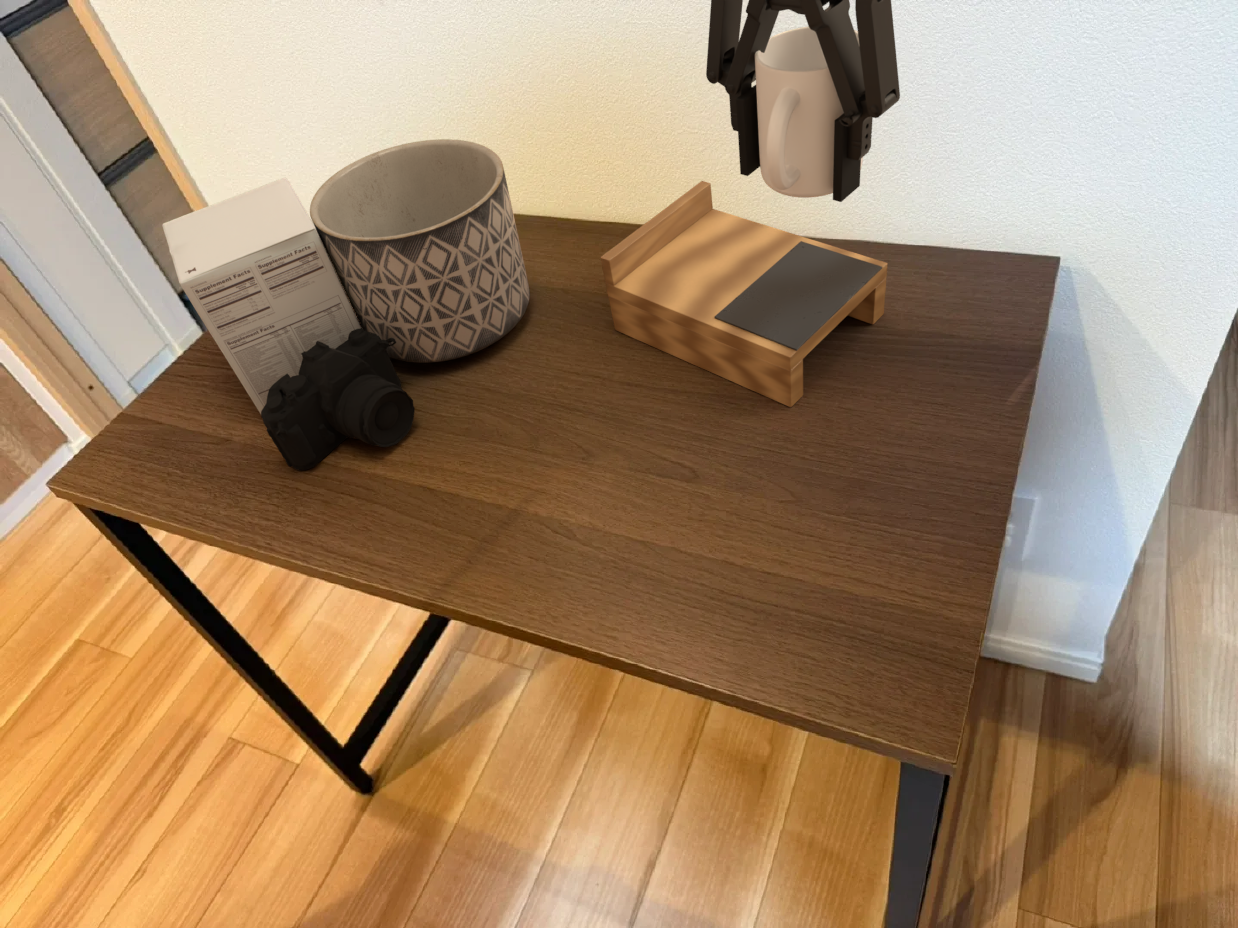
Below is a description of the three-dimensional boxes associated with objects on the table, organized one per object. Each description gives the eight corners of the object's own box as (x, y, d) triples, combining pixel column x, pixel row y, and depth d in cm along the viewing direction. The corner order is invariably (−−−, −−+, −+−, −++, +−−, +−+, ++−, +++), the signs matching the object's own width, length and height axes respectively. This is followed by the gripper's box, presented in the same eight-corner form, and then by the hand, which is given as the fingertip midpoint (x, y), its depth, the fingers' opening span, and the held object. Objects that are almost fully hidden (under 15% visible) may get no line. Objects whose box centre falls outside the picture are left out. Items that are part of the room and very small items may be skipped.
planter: (380, 400, 89) (319, 262, 77) (356, 302, 102) (301, 172, 90) (558, 342, 92) (525, 200, 80) (512, 254, 105) (478, 121, 93)
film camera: (340, 499, 80) (300, 430, 74) (277, 463, 85) (234, 395, 79) (452, 399, 88) (424, 328, 81) (388, 371, 93) (357, 302, 86)
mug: (823, 232, 66) (824, 99, 59) (724, 216, 70) (714, 90, 63) (876, 155, 73) (883, 27, 66) (784, 144, 77) (780, 22, 69)
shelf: (883, 314, 86) (890, 235, 80) (791, 408, 79) (789, 329, 73) (708, 253, 98) (701, 180, 92) (614, 330, 91) (600, 257, 85)
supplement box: (383, 371, 93) (317, 227, 80) (264, 424, 90) (176, 283, 77) (351, 312, 102) (286, 174, 89) (241, 358, 99) (158, 222, 86)
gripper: (633, -135, 59) (670, 172, 76) (918, -123, 48) (890, 236, 64) (701, -168, 63) (723, 133, 79) (984, -163, 51) (941, 188, 67)
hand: (798, 179), depth 71 cm, fingers closed on mug, 8 cm apart
